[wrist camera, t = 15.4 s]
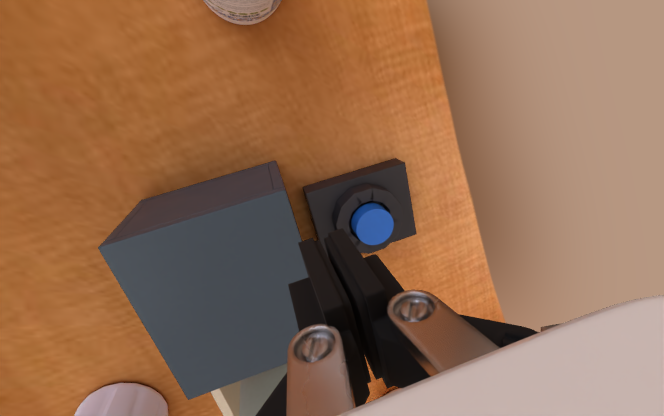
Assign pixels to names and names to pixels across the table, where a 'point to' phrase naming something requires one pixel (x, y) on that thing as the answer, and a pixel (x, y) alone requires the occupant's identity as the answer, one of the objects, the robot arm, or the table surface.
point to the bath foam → (243, 10)
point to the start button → (372, 223)
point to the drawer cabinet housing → (213, 275)
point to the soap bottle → (123, 401)
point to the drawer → (248, 393)
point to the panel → (362, 202)
